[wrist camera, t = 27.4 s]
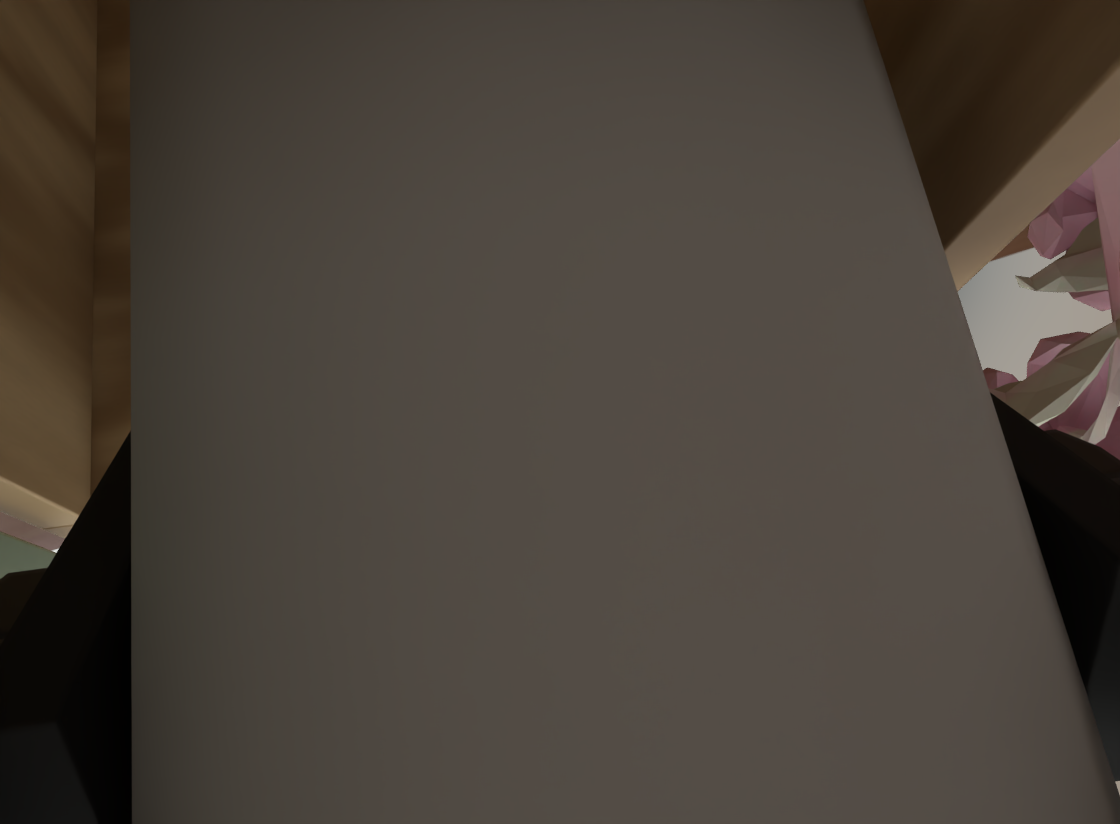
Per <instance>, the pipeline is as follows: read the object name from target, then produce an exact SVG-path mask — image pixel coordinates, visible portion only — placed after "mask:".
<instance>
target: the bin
mask: <svg viewBox="0 0 1120 824" xmlns="http://www.w3.org/2000/svg"><path fill="white" fill-rule="evenodd" d="M864 3H865V6H866V10H867V13H868V16H869V19H870V22H871V25H872V28H873V31H874V34H875V37H876V41H877V44H878V47H879V50H880V53H881V56H882V59H883V62H884V65H885V69H886V72H887V75H888V78H889V81H890V84H891V87H892V90H893V93H894V97H895V100H896V103H897V106H898V109H899V112H900V115H901V118H902V121H903V124H904V128H905V131H906V134H907V137H908V140H909V143H910V146H911V149H912V152H913V156H914V159H915V162H916V165H917V168H918V171H919V174H920V177H921V180H922V183H923V187H924V190H925V193H926V196H927V199H928V202H929V205H930V208H931V211H932V215H933V218H934V221H935V224H936V227H937V230H938V233H939V236H940V239H941V243H942V246H943V249H944V252H945V255H946V258H947V261H948V264H949V267H950V270H951V274H952V277H953V280H954V283H955V286H956V289H957V292H958V291H959V290H960V289H961V288H962V287H963V286H964V285H965V284H966V283H967V282H968V281H969V280H970V279H971V278H972V277H973V276H975V274H977V272H979V271H980V270H981V269H982V268H983V267H984V266H985V265H986V264H987V263H988V262H989V261H990V260H992V259H993V258H994V257H995V256H996V255H997V254H998V253H999V252H1000V251H1001V250H1002V249H1003V248H1004V247H1005V246H1006V245H1007V244H1009V243H1010V242H1011V241H1012V240H1013V239H1014V238H1015V237H1016V236H1017V235H1018V234H1019V233H1020V232H1021V231H1022V230H1023V229H1024V228H1026V227H1027V226H1028V225H1029V224H1030V223H1031V222H1032V221H1033V220H1034V219H1035V218H1036V217H1037V216H1038V215H1039V214H1040V213H1041V212H1043V211H1044V210H1045V209H1046V208H1047V207H1048V206H1049V205H1050V204H1051V203H1052V202H1053V201H1054V200H1055V199H1056V198H1057V197H1058V196H1059V195H1061V194H1062V193H1063V192H1064V191H1065V190H1066V189H1067V188H1068V187H1069V186H1070V185H1071V184H1072V183H1073V182H1074V181H1075V180H1076V179H1078V178H1079V177H1080V176H1081V175H1082V174H1083V173H1084V172H1085V171H1086V170H1087V169H1088V168H1089V167H1090V166H1091V165H1092V164H1093V163H1095V162H1096V161H1097V160H1098V159H1099V158H1100V157H1101V156H1102V155H1103V154H1104V153H1105V152H1106V151H1107V150H1108V149H1109V148H1110V147H1112V146H1113V145H1114V144H1115V143H1116V142H1117V141H1118V140H1119V139H1120V0H864ZM130 431H131V281H130V0H0V512H3V513H5V514H8V515H10V516H12V517H15V518H17V519H19V520H22V521H24V522H27V523H29V524H31V525H34V526H36V527H38V528H42V529H43V530H45V531H48V532H50V533H52V534H55V535H57V536H60V537H62V538H66V537H67V535H68V533H69V532H70V530H71V528H72V527H73V525H74V523H75V522H76V520H77V518H78V517H79V515H80V513H81V512H82V510H83V508H84V507H85V505H86V503H87V502H88V500H89V499H90V497H91V495H92V494H93V492H94V490H95V489H96V487H97V485H98V484H99V482H100V480H101V479H102V477H103V475H104V474H105V472H106V470H107V469H108V467H109V465H110V464H111V462H112V460H113V459H114V457H115V456H116V454H117V452H118V451H119V449H120V447H121V446H122V444H123V442H124V441H125V439H126V437H127V436H128V434H129V432H130Z"/></svg>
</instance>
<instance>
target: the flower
mask: <svg viewBox="0 0 1120 824" xmlns="http://www.w3.org/2000/svg"><path fill="white" fill-rule="evenodd" d="M1028 238H1029V240H1030V241H1031V243H1032V244H1033V246H1034V247H1035V248H1036V250H1037V251H1038V253H1039V254H1040V256H1042V257H1045V258H1048V259H1052V258H1054V257H1055V256H1057V255H1059V254H1060V253H1062V252H1064V251H1065V250H1066V254H1065V255H1064V256H1062V257H1061V258H1059V259H1057V260H1056V261H1054V262H1053V263H1051V264H1050V265H1048V266H1047V267H1045V268H1044V269H1042V270H1041V271H1040V272H1038V273H1036V274H1035V275H1033V276H1032V277H1030V278H1029V277H1021V276H1016V279H1017V282H1018V284H1019V287H1022V288H1026V289H1030V290H1034V291H1043V292H1069V293H1070V295H1071V296H1072V297H1073V299H1076V300H1078V301H1080V302H1082V303H1084V304H1087V305H1089V306H1091V307H1093V308H1096V309H1098V310H1100V311H1105V310H1109V309H1111V313H1112V320H1113V322H1112V323H1111V324H1109V325H1107V326H1105V327H1103V328H1101V329H1099V330H1097V331H1095V332H1094V333H1092V334H1090V333H1084V332H1075V333H1070V334H1064V335H1059V336H1054V337H1049V338H1044V339H1041V340H1040V341H1039V343H1038V345H1037V347H1036V349H1035V350H1034V353H1033V354H1032V356H1031V358H1030V360H1029V361H1028V364H1027V378H1026V379H1025V380H1023V381H1018V380H1017V379H1016V378H1015V377H1014V376H1013V375H1012V374H1009V373H1005V372H1001V371H998V370H995V369H991V368H986V369H984V370H983V373H984V376H985V379H986V382H987V385H988V389H989V392H990V393H992V394H993V395H995V396H996V397H997V398H999V399H1000V400H1002V401H1003V402H1004V403H1006V404H1007V405H1009V406H1010V407H1011V408H1013V409H1014V410H1016V411H1017V412H1018V413H1020V414H1021V415H1022V416H1024V417H1025V418H1027V419H1028V420H1029V421H1031V422H1032V423H1034V424H1035V425H1036V426H1038V427H1039V428H1041V429H1042V430H1043V431H1046V430H1054V429H1056V430H1059V431H1062V432H1064V433H1067V434H1069V435H1072V436H1074V437H1077V438H1079V439H1082V440H1084V441H1087V442H1089V443H1092V444H1094V445H1097V446H1099V447H1101V448H1103V449H1104V450H1106V451H1107V452H1109V453H1110V454H1111V455H1113V456H1114V457H1116V458H1117V459H1119V460H1120V406H1119V407H1118V404H1119V401H1120V139H1119V140H1118V141H1117V142H1116V143H1115V144H1114V145H1113V146H1112V147H1110V148H1109V149H1108V150H1107V151H1106V152H1105V153H1104V154H1103V155H1102V156H1101V157H1100V158H1099V159H1098V160H1097V161H1096V162H1095V163H1093V164H1092V165H1091V166H1090V167H1089V168H1088V169H1087V170H1086V171H1085V172H1084V173H1083V174H1082V175H1081V176H1080V177H1079V178H1078V179H1076V180H1075V181H1074V182H1073V183H1072V184H1071V185H1070V186H1069V187H1068V188H1067V189H1066V190H1065V191H1064V192H1063V193H1062V194H1061V195H1059V196H1058V197H1057V198H1056V199H1055V200H1054V201H1053V202H1052V203H1051V204H1050V205H1049V206H1048V207H1047V208H1046V209H1045V210H1044V211H1043V212H1041V213H1040V214H1039V215H1038V216H1037V217H1036V218H1035V219H1034V220H1033V221H1032V222H1031V223H1030V226H1029V232H1028Z"/></svg>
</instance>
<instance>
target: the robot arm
mask: <svg viewBox="0 0 1120 824" xmlns="http://www.w3.org/2000/svg"><path fill="white" fill-rule="evenodd" d="M990 395H991V398H992V401H993V404H994V407H995V410H996V413H997V416H998V420H999V423H1000V426H1001V429H1002V432H1003V435H1004V438H1005V441H1006V444H1007V448H1008V451H1009V454H1010V457H1011V460H1012V463H1013V466H1014V469H1015V472H1016V475H1017V479H1018V482H1019V485H1020V488H1021V491H1022V494H1023V497H1024V500H1025V503H1026V507H1027V510H1028V513H1029V516H1030V519H1031V522H1032V525H1033V528H1034V531H1035V535H1036V538H1037V541H1038V544H1039V547H1040V550H1041V553H1042V556H1043V559H1044V562H1045V566H1046V569H1047V572H1048V575H1049V578H1050V581H1051V584H1052V587H1053V590H1054V594H1055V597H1056V600H1057V603H1058V606H1059V609H1060V612H1061V615H1062V618H1063V621H1064V625H1065V628H1066V631H1067V634H1068V637H1069V640H1070V643H1071V646H1072V649H1073V653H1074V656H1075V659H1076V662H1077V665H1078V668H1079V671H1080V674H1081V677H1082V681H1083V684H1084V687H1085V690H1086V693H1087V696H1088V699H1089V702H1090V705H1091V708H1092V712H1093V715H1094V718H1095V721H1096V724H1097V727H1098V730H1099V733H1100V736H1101V740H1102V743H1103V746H1104V749H1105V752H1106V755H1107V758H1108V761H1109V764H1110V767H1111V771H1112V774H1113V777H1114V780H1115V781H1120V460H1119V459H1117V458H1116V457H1114V456H1113V455H1111V454H1110V453H1109V452H1107V451H1106V450H1104V449H1103V448H1101V447H1099V446H1097V445H1094V444H1092V443H1089V442H1087V441H1084V440H1082V439H1079V438H1077V437H1074V436H1072V435H1069V434H1067V433H1064V432H1062V431H1059V430H1056V429H1054V430H1046V431H1043V430H1042V429H1041V428H1039V427H1038V426H1036V425H1035V424H1034V423H1032V422H1031V421H1029V420H1028V419H1027V418H1025V417H1024V416H1022V415H1021V414H1020V413H1018V412H1017V411H1016V410H1014V409H1013V408H1011V407H1010V406H1009V405H1007V404H1006V403H1004V402H1003V401H1002V400H1000V399H999V398H997V397H996V396H995V395H993V394H992V393H990ZM0 824H132V668H131V431H130V432H129V434H128V436H127V437H126V439H125V441H124V442H123V444H122V446H121V447H120V449H119V451H118V452H117V454H116V456H115V457H114V459H113V460H112V462H111V464H110V465H109V467H108V469H107V470H106V472H105V474H104V475H103V477H102V479H101V480H100V482H99V484H98V485H97V487H96V489H95V490H94V492H93V494H92V495H91V497H90V499H89V500H88V502H87V503H86V505H85V507H84V508H83V510H82V512H81V513H80V515H79V517H78V518H77V520H76V522H75V523H74V525H73V527H72V528H71V530H70V532H69V533H68V535H67V537H66V538H65V540H64V542H63V543H62V545H61V546H60V548H59V550H58V551H57V553H56V555H55V556H54V558H53V560H52V561H51V563H50V565H49V566H48V568H42V569H34V570H27V571H19V572H12V573H7V574H6V575H5V576H4V577H2V578H1V579H0Z"/></svg>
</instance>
